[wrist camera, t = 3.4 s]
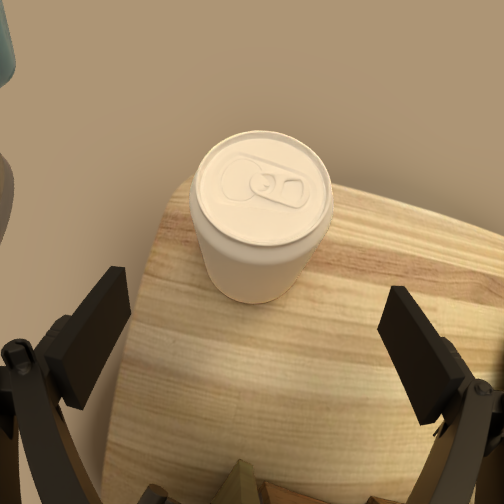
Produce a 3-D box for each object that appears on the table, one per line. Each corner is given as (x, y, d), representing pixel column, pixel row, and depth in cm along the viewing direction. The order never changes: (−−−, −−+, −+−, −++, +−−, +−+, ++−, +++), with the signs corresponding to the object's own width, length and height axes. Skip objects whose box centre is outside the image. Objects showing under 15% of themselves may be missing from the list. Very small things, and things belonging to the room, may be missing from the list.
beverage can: (221, 207, 29) (214, 112, 18) (307, 229, 29) (347, 144, 17) (193, 290, 26) (162, 231, 15) (288, 316, 26) (328, 274, 14)
